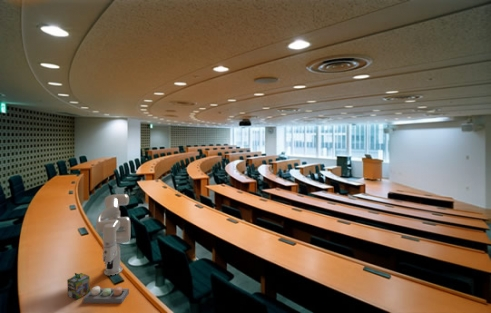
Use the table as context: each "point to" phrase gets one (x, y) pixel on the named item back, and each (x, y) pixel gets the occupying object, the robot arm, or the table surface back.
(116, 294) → the pink rounded dome
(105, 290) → the pale green rounded piece
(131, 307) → the table surface
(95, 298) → the button board
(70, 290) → the chalk box
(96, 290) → the white rounded piece
